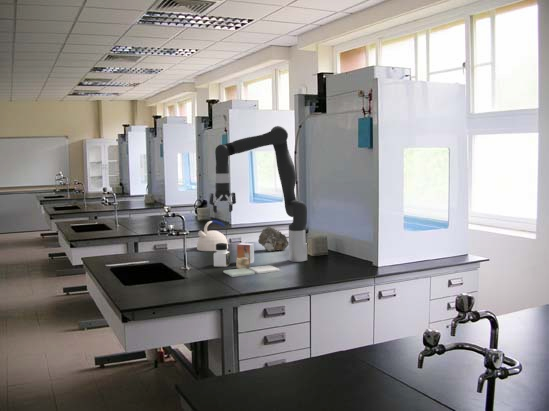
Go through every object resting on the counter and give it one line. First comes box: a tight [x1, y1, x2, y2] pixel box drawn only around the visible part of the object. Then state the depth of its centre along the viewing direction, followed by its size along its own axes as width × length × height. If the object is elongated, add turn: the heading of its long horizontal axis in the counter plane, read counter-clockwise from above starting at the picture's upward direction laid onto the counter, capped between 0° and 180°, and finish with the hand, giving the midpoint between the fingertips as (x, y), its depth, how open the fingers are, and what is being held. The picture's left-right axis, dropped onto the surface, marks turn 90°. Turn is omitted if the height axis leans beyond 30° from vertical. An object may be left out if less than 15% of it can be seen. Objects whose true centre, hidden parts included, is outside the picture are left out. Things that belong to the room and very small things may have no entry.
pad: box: [248, 264, 281, 274], centre depth 285 cm, size 12×12×1 cm
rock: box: [258, 226, 289, 252], centre depth 344 cm, size 18×14×15 cm
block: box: [235, 257, 250, 269], centre depth 293 cm, size 5×5×5 cm
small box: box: [236, 242, 255, 265], centre depth 306 cm, size 8×6×10 cm
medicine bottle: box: [213, 243, 231, 268], centre depth 300 cm, size 7×7×12 cm
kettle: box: [196, 220, 229, 252], centre depth 355 cm, size 20×21×18 cm
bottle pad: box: [223, 268, 256, 278], centre depth 279 cm, size 12×12×1 cm
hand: (222, 212), depth 298 cm, fingers open, 8 cm apart
